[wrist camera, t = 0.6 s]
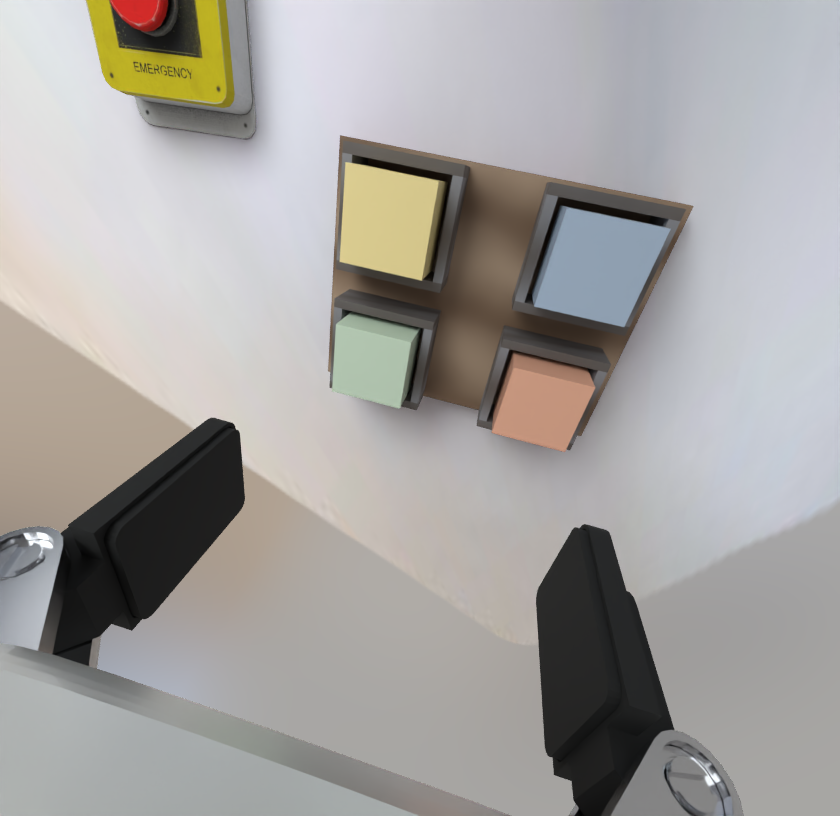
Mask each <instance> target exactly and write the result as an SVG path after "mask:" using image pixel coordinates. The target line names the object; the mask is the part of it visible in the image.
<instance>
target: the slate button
mask: <svg viewBox="0 0 840 816" xmlns="http://www.w3.org/2000/svg"><path fill="white" fill-rule="evenodd" d="M670 230H671V229H669V228H665V227H661V226H657V225H653V224H649V223H644V222H640V221H635V220H630V219H625V218H620V217H615V216H610V215H605V214H601V213H596V212H591V211H586V210H581V209H576V208H571V207H567V206H562V205H560V207H559V210H558V213H557V216H556V219H555V222H554V225H553V228H552V231H551V235H550V238H549V241H548V244H547V247H546V250H545V253H544V256H543V259H542V262H541V265H540V268H539V271H538V275H537V278H536V281H535V284H534V287H533V290H532V298H533V303H534V307H538V308H543V309H547V310H552V311H556V312H560V313H565V314H569V315H573V316H578V317H582V318H586V319H591V320H595V321H599V322H604V323H608V324H612V325H617V326H621V327H624V326H625V324H626V322H627V320H628V318H629V316H630V314H631V312H632V310H633V307H634V305H635V303H636V301H637V299H638V297H639V295H640V293H641V291H642V289H643V286H644V284H645V282H646V280H647V278H648V276H649V274H650V272H651V270H652V267H653V265H654V263H655V261H656V259H657V257H658V255H659V253H660V251H661V248H662V246H663V244H664V242H665V240H666V238H667V236H668V234H669V232H670Z"/></svg>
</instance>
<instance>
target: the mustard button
mask: <svg viewBox="0 0 840 816" xmlns="http://www.w3.org/2000/svg"><path fill="white" fill-rule="evenodd" d="M447 184H448V182H445V181H440V180H435V179H430V178H425V177H421V176H416V175H411V174H406V173H401V172H396V171H391V170H386V169H382V168H377V167H372V166H367V165H361V164H355V163H348V162H345V179H344V196H343V213H342V230H341V247H340V262H343V263H347V264H351V265H356V266H360V267H365V268H369V269H373V270H378V271H382V272H386V273H391V274H395V275H399V276H404V277H408V278H412V279H417V280H421V281H422V280H423V279H424V278H425V277H426V276H427V275H428V274H429V273H430V272H431V271H432V266H433V261H434V255H435V250H436V244H437V239H438V234H439V228H440V223H441V217H442V212H443V206H444V201H445V195H446V190H447Z"/></svg>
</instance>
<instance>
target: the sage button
mask: <svg viewBox="0 0 840 816" xmlns="http://www.w3.org/2000/svg"><path fill="white" fill-rule="evenodd" d="M420 332H421V328H420V327H416V326H411V325H407V324H403V323H399V322H395V321H391V320H387V319H382V318H378V317H374V316H370V315H366V314H362V313H357V312H353V311H352V312H351V313H350V314H348V315H347V316H346V317H344V318H343V319H342V320H341V321H339V322H338V323H337V324H336V332H335V350H334V367H333V384H332V391H333V392H337V393H341V394H345V395H349V396H353V397H356V398H360V399H364V400H368V401H372V402H376V403H379V404H383V405H387V406H391V407H395V408H398V409H400V407H401V405H402V404H403V402H404V400H405V398H406V396H407V394H408V392H409V390H410V387H411V382H412V376H413V371H414V365H415V360H416V354H417V349H418V343H419V338H420Z"/></svg>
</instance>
